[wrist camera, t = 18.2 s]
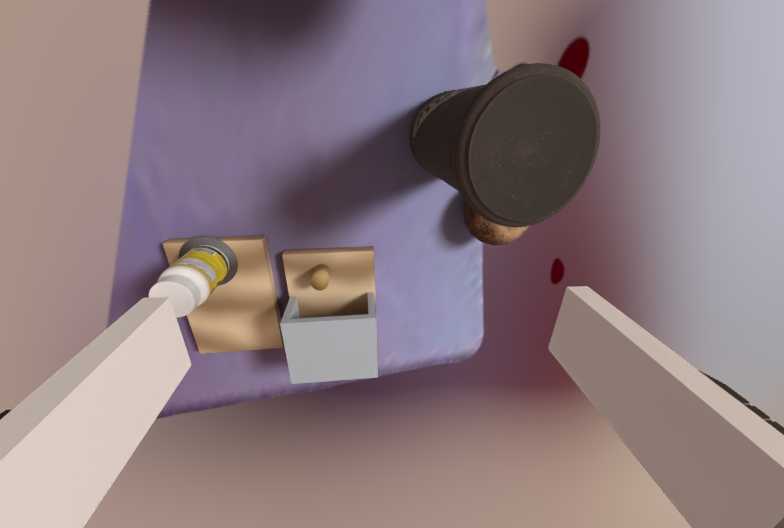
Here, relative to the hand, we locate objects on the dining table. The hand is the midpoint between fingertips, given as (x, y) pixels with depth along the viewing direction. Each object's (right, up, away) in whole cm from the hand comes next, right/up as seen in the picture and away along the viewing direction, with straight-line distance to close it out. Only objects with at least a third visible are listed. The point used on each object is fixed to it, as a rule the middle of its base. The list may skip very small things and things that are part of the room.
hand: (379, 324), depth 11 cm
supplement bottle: (-21, +2, +26) cm, 34 cm away
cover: (-7, -6, +31) cm, 33 cm away
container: (+6, +17, +25) cm, 30 cm away
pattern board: (-7, -3, +32) cm, 33 cm away
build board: (-20, -2, +30) cm, 36 cm away
